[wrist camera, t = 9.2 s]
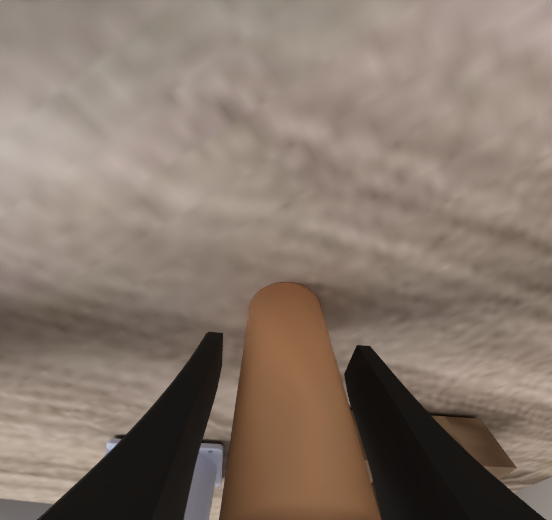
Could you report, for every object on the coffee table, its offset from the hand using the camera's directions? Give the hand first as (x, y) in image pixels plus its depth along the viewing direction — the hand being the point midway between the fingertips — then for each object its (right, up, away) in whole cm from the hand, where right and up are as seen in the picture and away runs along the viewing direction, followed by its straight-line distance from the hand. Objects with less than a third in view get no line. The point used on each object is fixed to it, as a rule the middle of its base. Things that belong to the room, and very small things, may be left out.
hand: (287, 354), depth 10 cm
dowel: (0, +1, +2) cm, 3 cm away
